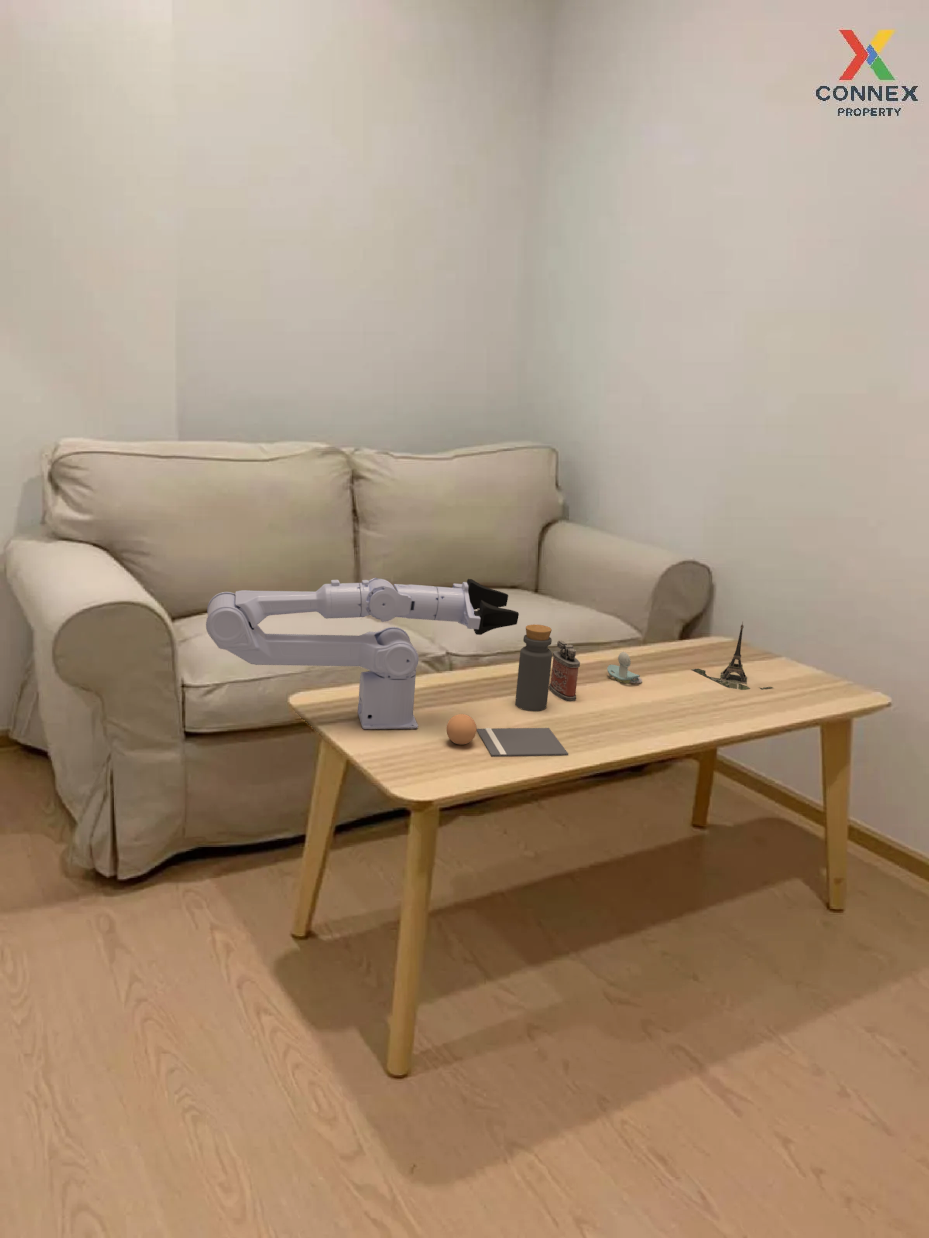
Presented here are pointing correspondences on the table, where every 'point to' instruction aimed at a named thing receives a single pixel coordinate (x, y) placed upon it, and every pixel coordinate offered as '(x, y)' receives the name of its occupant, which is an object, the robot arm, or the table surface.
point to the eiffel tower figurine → (728, 678)
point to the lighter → (564, 672)
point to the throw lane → (521, 742)
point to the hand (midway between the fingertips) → (512, 609)
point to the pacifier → (623, 670)
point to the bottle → (534, 669)
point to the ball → (461, 729)
